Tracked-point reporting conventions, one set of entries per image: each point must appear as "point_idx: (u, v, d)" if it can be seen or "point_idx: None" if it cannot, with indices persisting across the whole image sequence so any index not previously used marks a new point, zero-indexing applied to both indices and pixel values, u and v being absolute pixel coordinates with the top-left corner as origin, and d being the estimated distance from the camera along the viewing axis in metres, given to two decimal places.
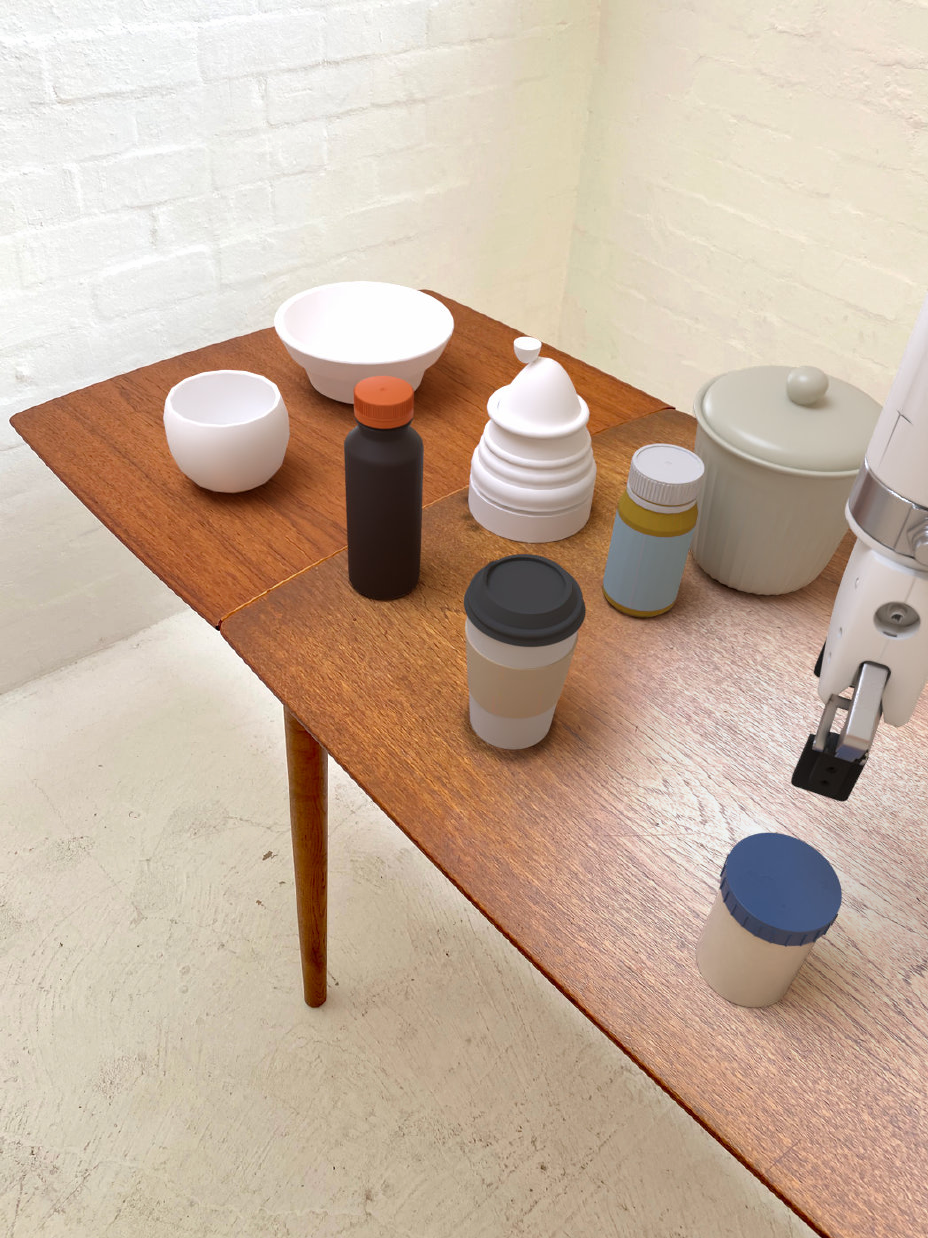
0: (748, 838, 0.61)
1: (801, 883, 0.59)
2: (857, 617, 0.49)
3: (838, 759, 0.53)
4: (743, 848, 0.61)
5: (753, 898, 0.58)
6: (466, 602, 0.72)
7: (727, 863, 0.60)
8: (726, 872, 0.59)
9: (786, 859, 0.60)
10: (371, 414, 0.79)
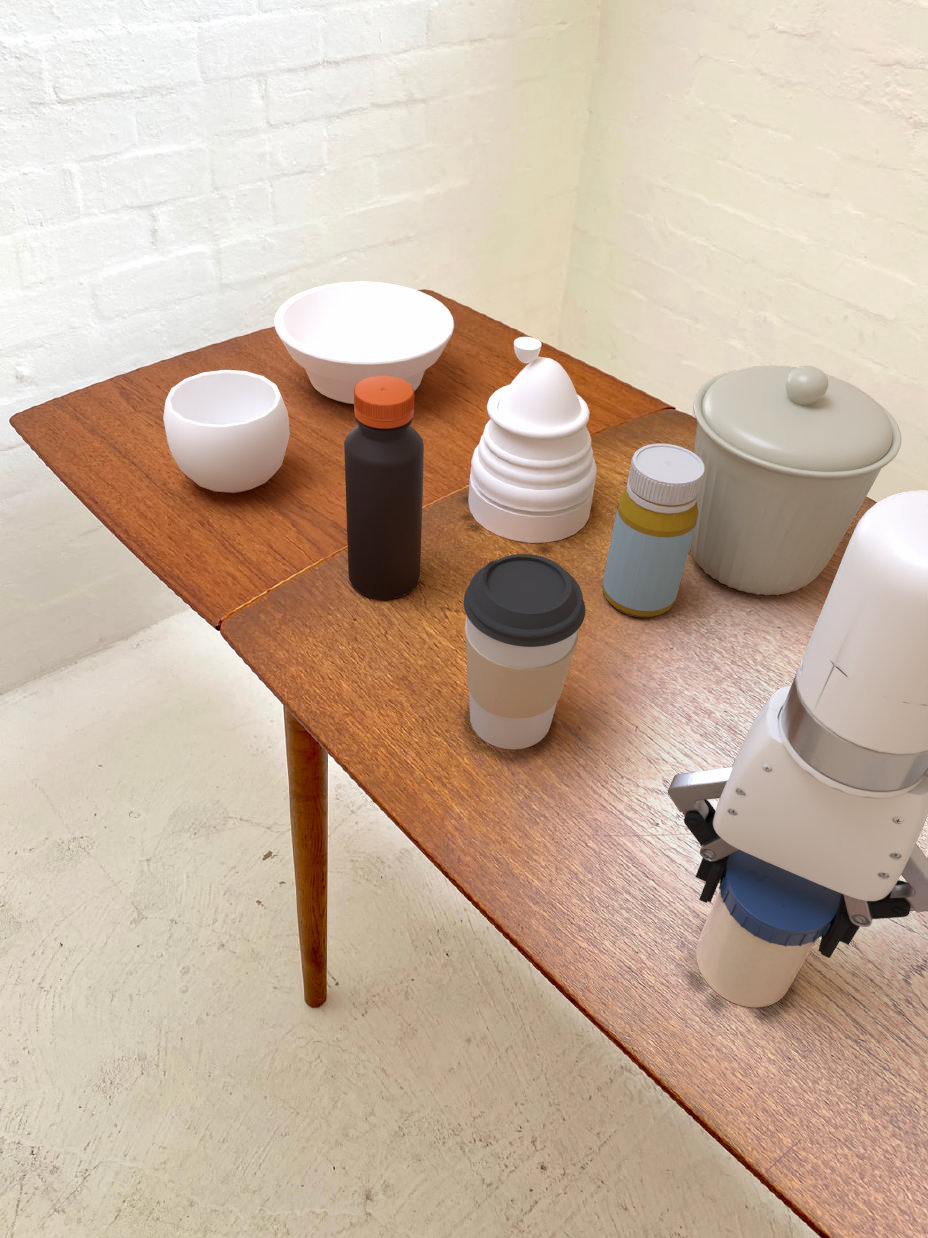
0: None
1: (801, 883, 0.59)
2: (917, 836, 0.50)
3: None
4: None
5: (753, 898, 0.58)
6: (466, 601, 0.72)
7: (727, 863, 0.60)
8: (726, 872, 0.59)
9: None
10: (371, 414, 0.79)
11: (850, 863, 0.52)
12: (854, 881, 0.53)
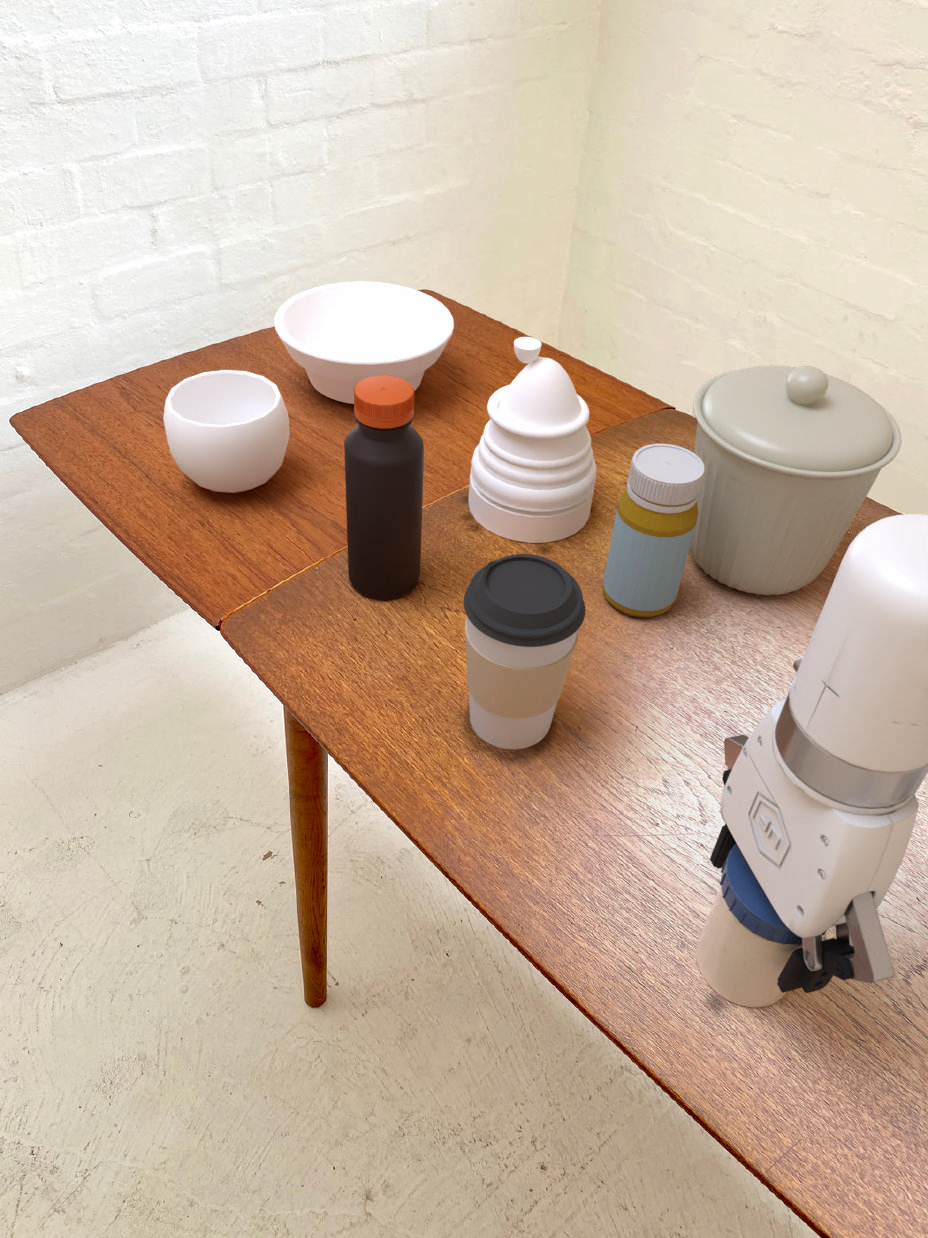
0: (777, 924, 0.57)
1: None
2: None
3: None
4: None
5: None
6: (466, 601, 0.72)
7: None
8: None
9: None
10: (371, 414, 0.79)
11: None
12: None
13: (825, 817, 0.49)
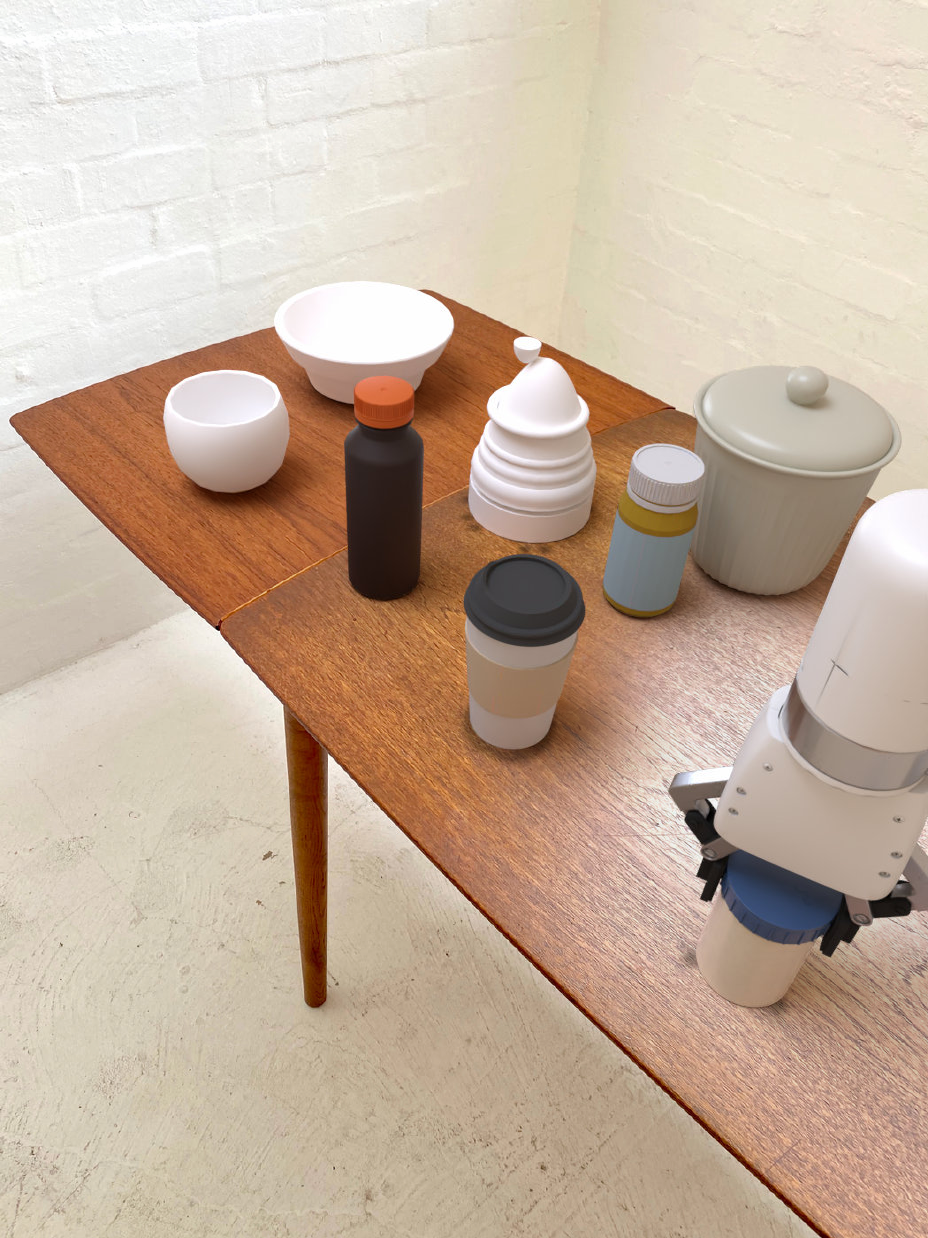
0: (777, 924, 0.57)
1: (772, 865, 0.60)
2: (917, 835, 0.50)
3: None
4: (792, 922, 0.57)
5: (827, 889, 0.59)
6: (466, 602, 0.72)
7: (820, 925, 0.57)
8: (828, 922, 0.57)
9: (763, 886, 0.58)
10: (371, 414, 0.79)
11: (851, 862, 0.52)
12: (855, 880, 0.53)
13: None
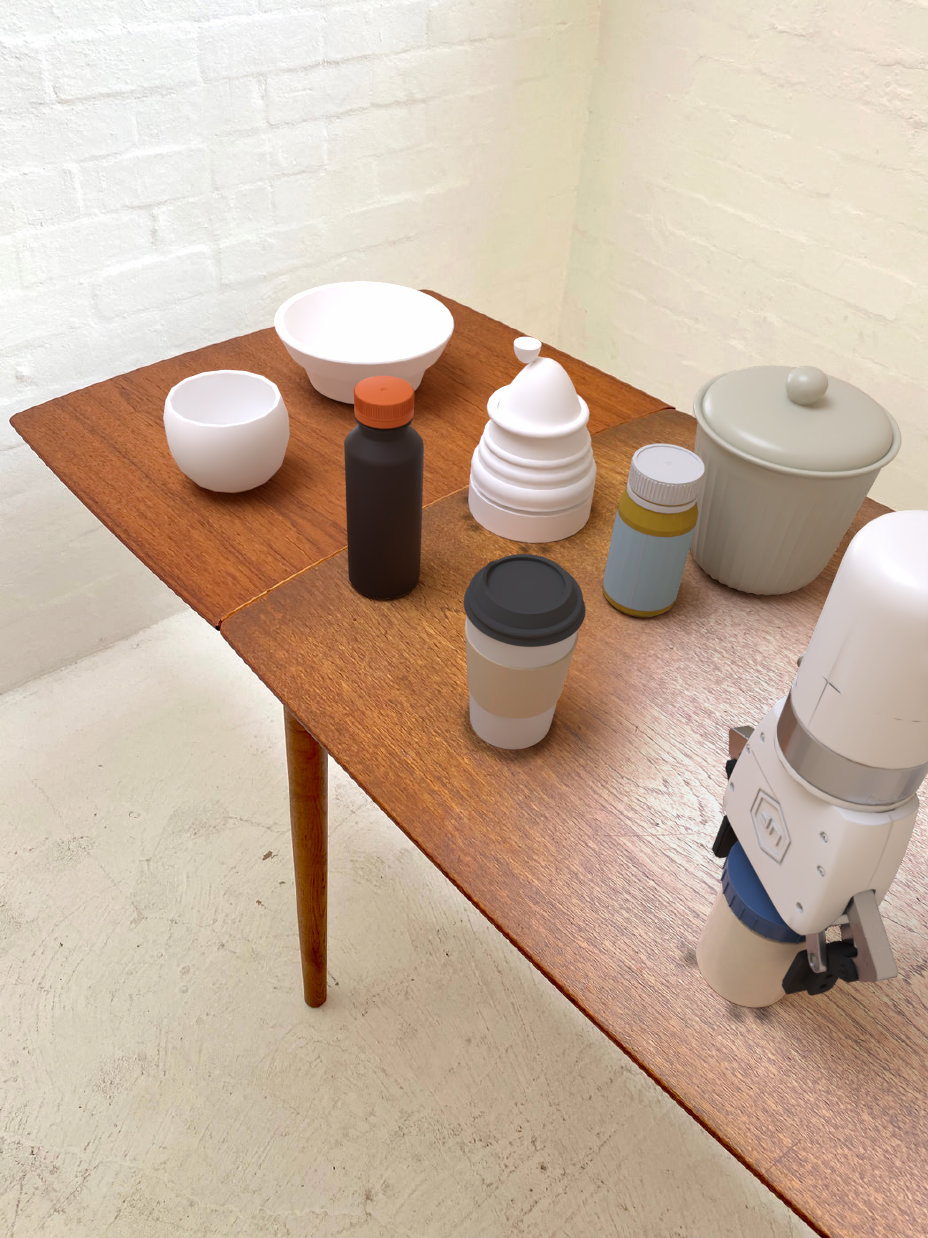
0: None
1: None
2: None
3: None
4: None
5: None
6: (466, 602, 0.72)
7: None
8: None
9: None
10: (371, 414, 0.79)
11: None
12: None
13: (825, 814, 0.49)
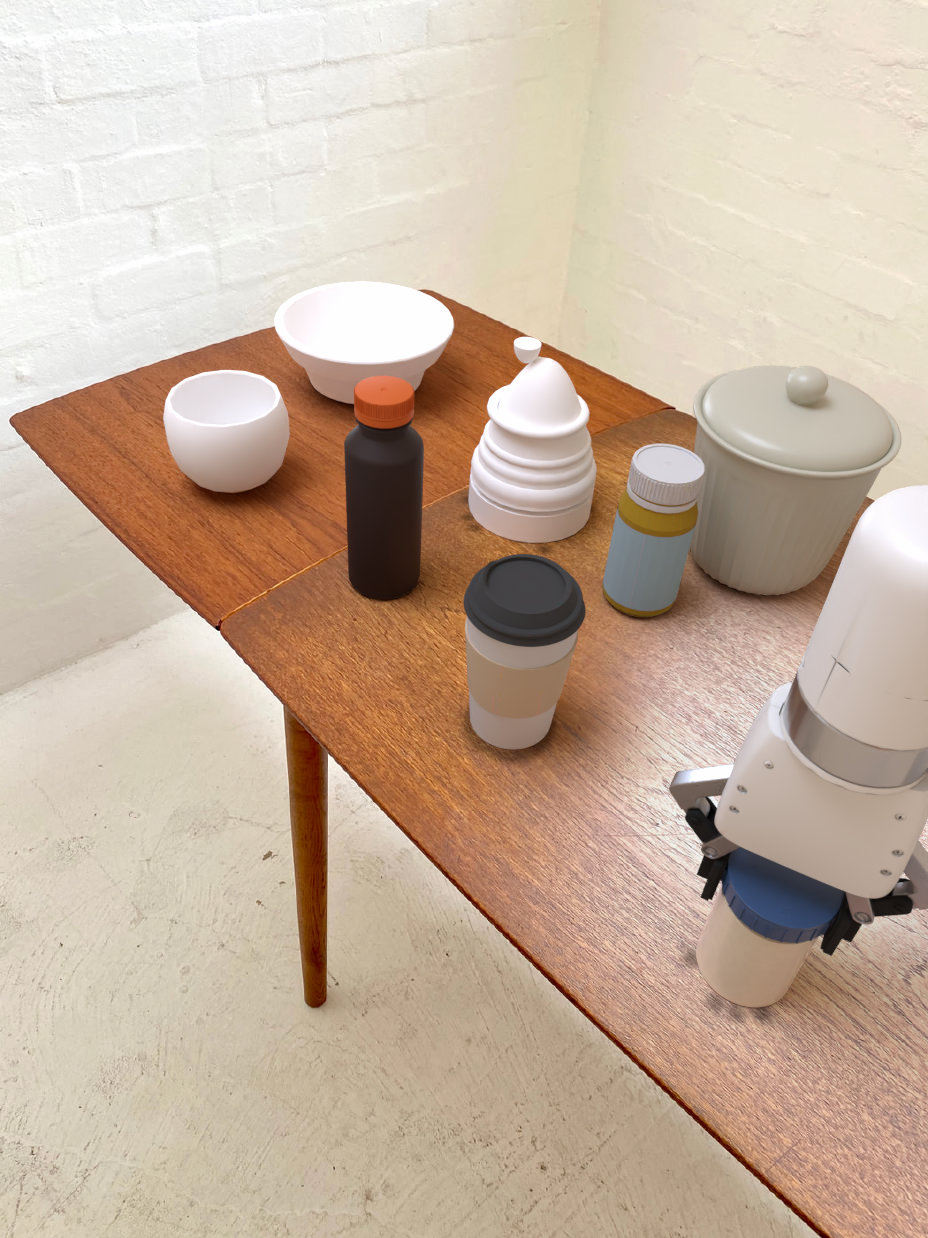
0: None
1: (784, 891, 0.58)
2: (919, 833, 0.50)
3: None
4: None
5: None
6: (466, 602, 0.72)
7: None
8: None
9: (811, 887, 0.58)
10: (371, 414, 0.79)
11: (852, 860, 0.52)
12: (856, 878, 0.53)
13: None
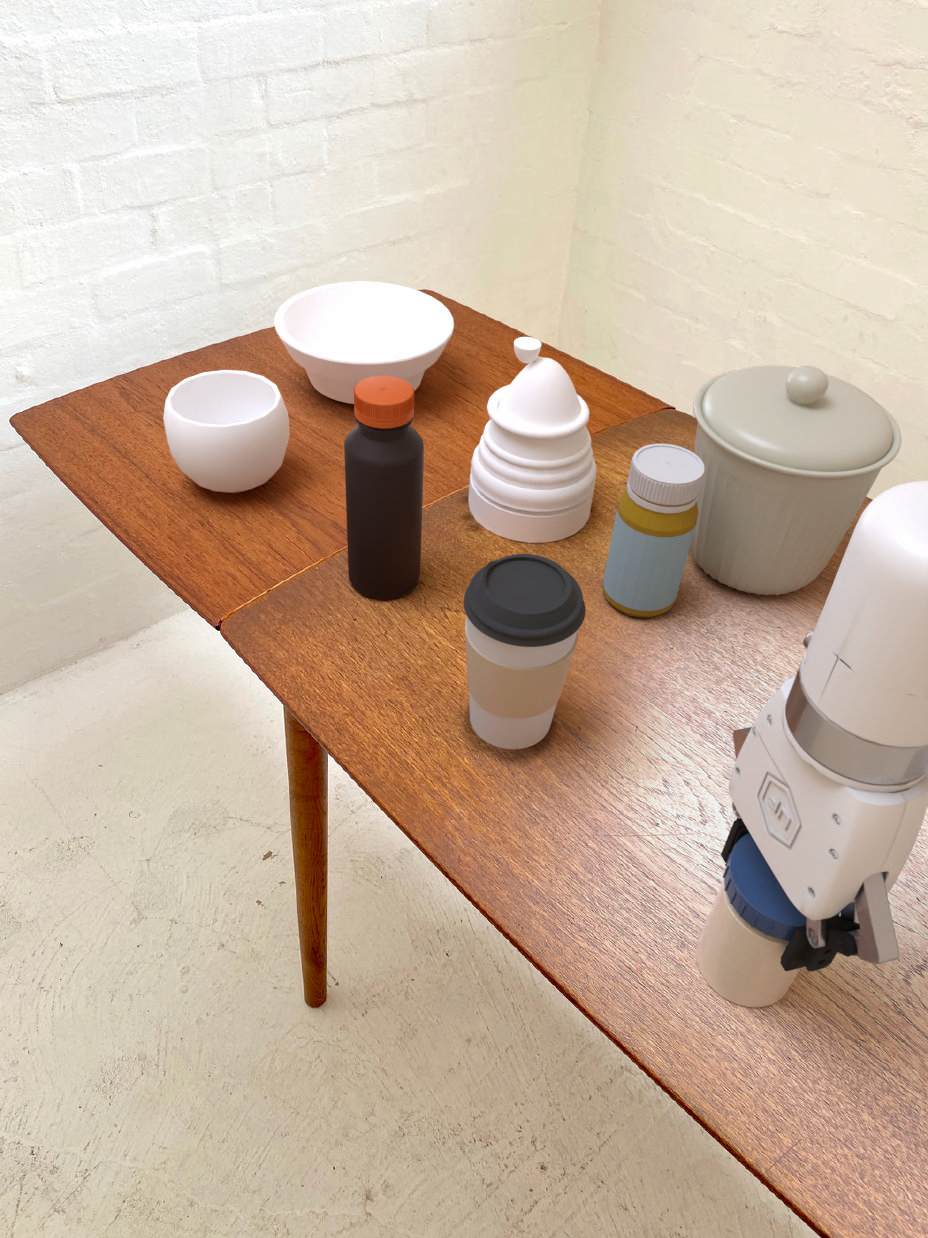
0: (734, 853, 0.60)
1: None
2: None
3: None
4: (738, 866, 0.59)
5: (782, 909, 0.57)
6: (466, 602, 0.72)
7: (738, 889, 0.58)
8: (744, 899, 0.57)
9: None
10: (371, 414, 0.79)
11: None
12: None
13: (837, 795, 0.48)
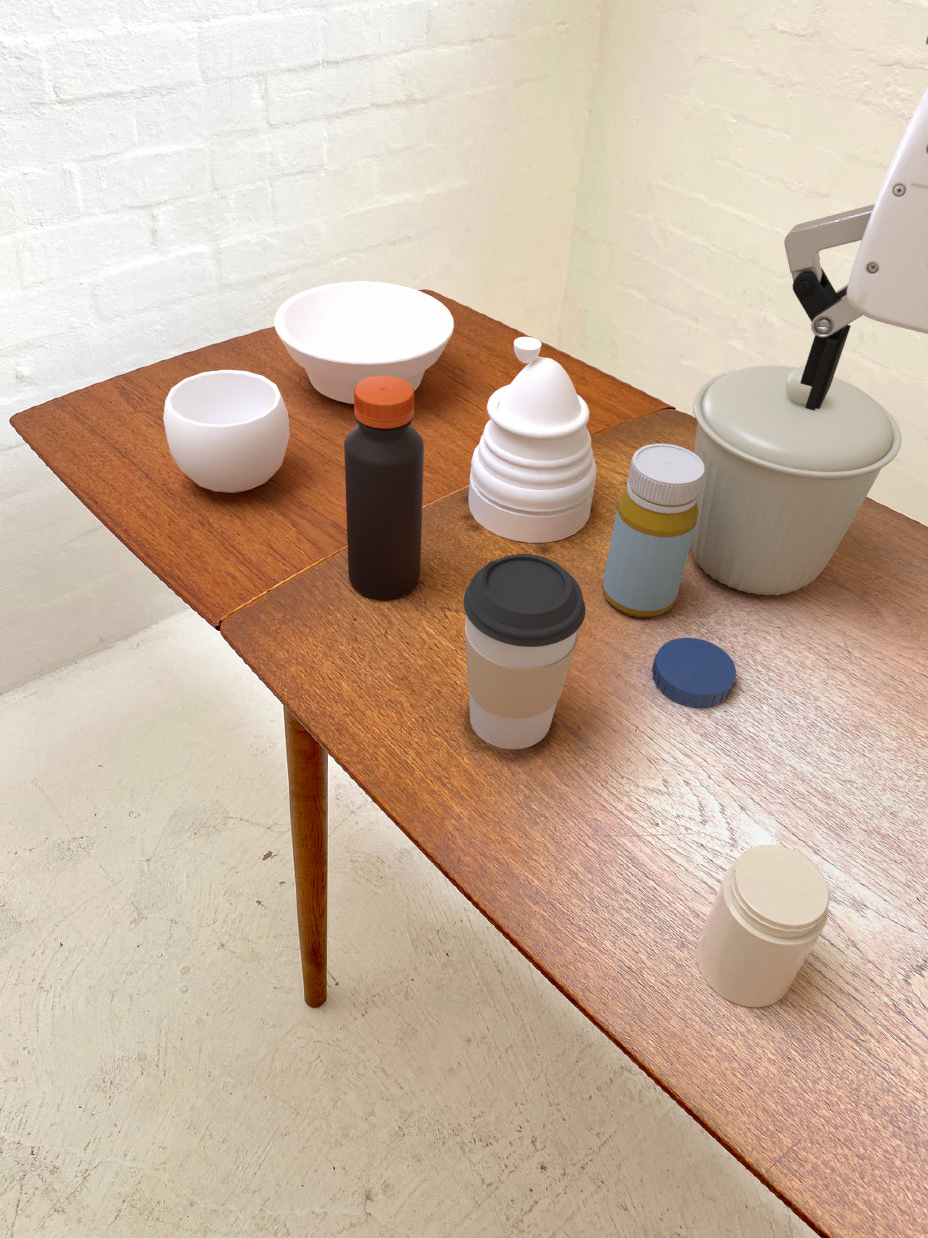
0: (662, 673, 0.83)
1: (697, 656, 0.85)
2: None
3: None
4: (671, 678, 0.83)
5: (713, 684, 0.83)
6: (466, 601, 0.72)
7: (686, 690, 0.82)
8: (693, 693, 0.82)
9: (678, 658, 0.85)
10: (371, 414, 0.79)
11: None
12: None
13: None
